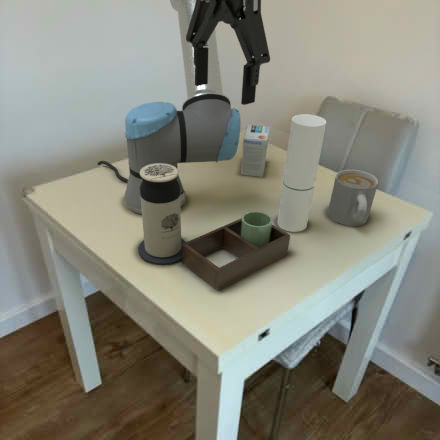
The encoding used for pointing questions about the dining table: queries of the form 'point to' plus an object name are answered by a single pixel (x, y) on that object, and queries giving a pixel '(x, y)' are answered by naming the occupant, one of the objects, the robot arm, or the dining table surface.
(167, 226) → the travel mug
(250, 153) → the light bulb box
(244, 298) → the dining table surface
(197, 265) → the cup holder
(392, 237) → the dining table surface
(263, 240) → the sage cup
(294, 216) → the cylindrical container
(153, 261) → the slate coaster
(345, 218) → the coffee mug
